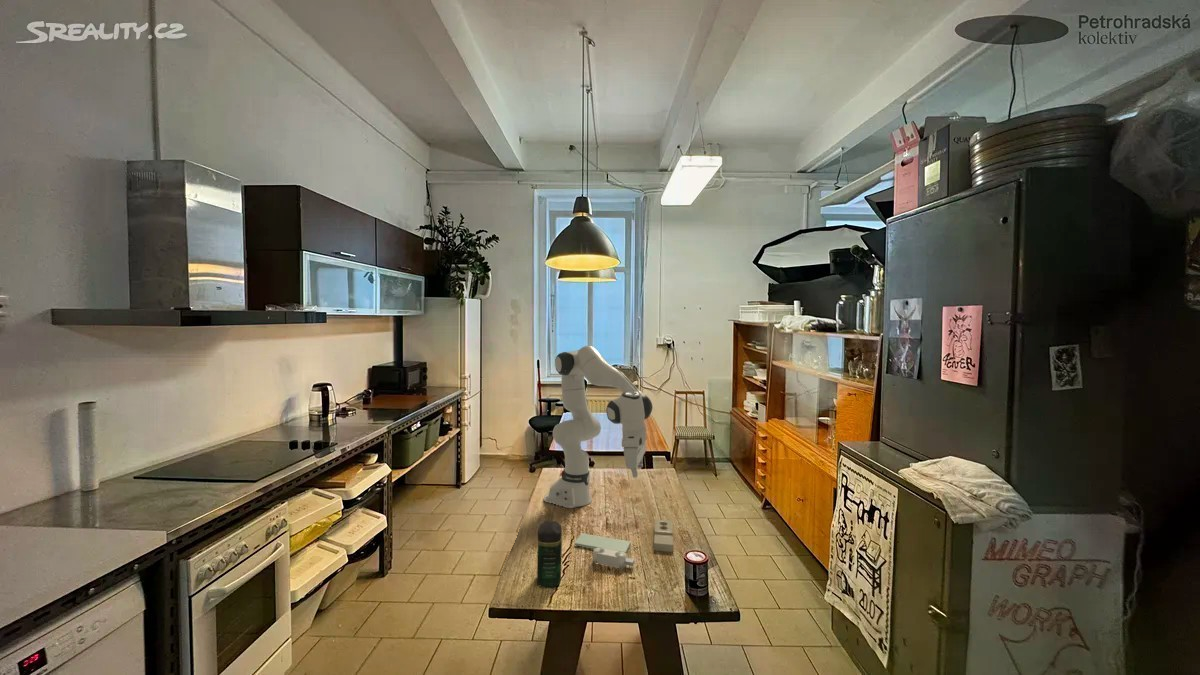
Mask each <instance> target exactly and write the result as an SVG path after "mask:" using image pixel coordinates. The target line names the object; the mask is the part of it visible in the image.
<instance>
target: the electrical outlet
mask: <svg viewBox="0 0 1200 675" xmlns="http://www.w3.org/2000/svg"><path fill="white" fill-rule="evenodd" d="M673 526H674V525H673V521H672V520H671V519H670V520H669V519H655V520H654V534H653V535H654V536H653V539H654V540H653V551H658V552H669V553H674V528H673Z"/></svg>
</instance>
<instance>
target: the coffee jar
mask: <svg viewBox="0 0 1200 675" xmlns="http://www.w3.org/2000/svg"><path fill="white" fill-rule="evenodd" d="M562 532H563V530H562V525H561V524H560V523H559V522H557V521H556V520H545V521H544V522H542V523H541V524H540V525H539V527H538V530H537V569H536V570H537V572H536V577H537V578H536V582H537V585H538V586H539V587H543V588H547V587H549V588H553V587H557V586H559V584H560V583H561V579H562V557H563V556H562V555H563V553H562V551H563V546H562V545H563V540H562V538H563V536H562Z"/></svg>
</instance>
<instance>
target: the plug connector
mask: <svg viewBox="0 0 1200 675" xmlns="http://www.w3.org/2000/svg"><path fill="white" fill-rule="evenodd" d="M592 550H593V551H592V552H593V553H592V554H593V556H592V557H593V558H592V559H593V560H592V562H593V561H594V562H595V563H598V564H603V565H607V566H606V567H608V566H611V567H610V568H613V567H615V568H614V569H618V568H619V570H623V569H626V567H627V566H630V567H631V566H632V567H633V566H634V564H635V558H632V557H631V558H630V557H627V553H625V552H621V551H616V550H610V549H605V548H595V549H592ZM594 562H593V563H594ZM595 563H594V564H595ZM598 564H597V565H598ZM603 565H602V566H603ZM622 568H623V569H622Z"/></svg>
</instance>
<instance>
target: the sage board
mask: <svg viewBox="0 0 1200 675" xmlns="http://www.w3.org/2000/svg"><path fill="white" fill-rule="evenodd" d="M575 545H576V546H575ZM631 545H632V541H631V540H630V541H629V540H623V539H617V538H612V537H607V536H606V537H605V536H599V535H596V534H595V535H594V534H589V533H584V532H583V533H582V532H581V533H580V535H579V536H578V537H577V539H576V540H575V541H574V546H575V547H577V546H582V547H581V548H583V547H586V548H585V549H588V548H593V549H592V550H594V549H595V548H605V549H610V550H616V551H621V552H625V553H626V554H627V553H628V551H629V549H630V547H631Z"/></svg>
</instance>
